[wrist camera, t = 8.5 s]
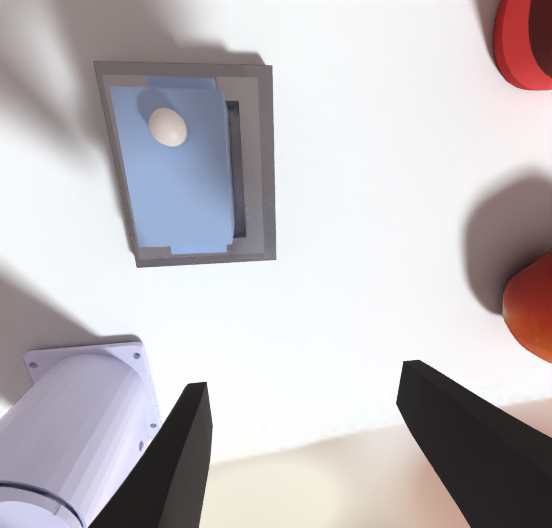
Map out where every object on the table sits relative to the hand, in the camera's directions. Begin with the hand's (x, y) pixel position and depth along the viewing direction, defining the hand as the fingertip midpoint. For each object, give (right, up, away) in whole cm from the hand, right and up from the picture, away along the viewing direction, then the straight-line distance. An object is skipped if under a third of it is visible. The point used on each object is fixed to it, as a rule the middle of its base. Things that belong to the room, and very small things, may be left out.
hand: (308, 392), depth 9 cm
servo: (-6, +10, +6) cm, 13 cm away
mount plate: (-6, +10, +7) cm, 14 cm away
